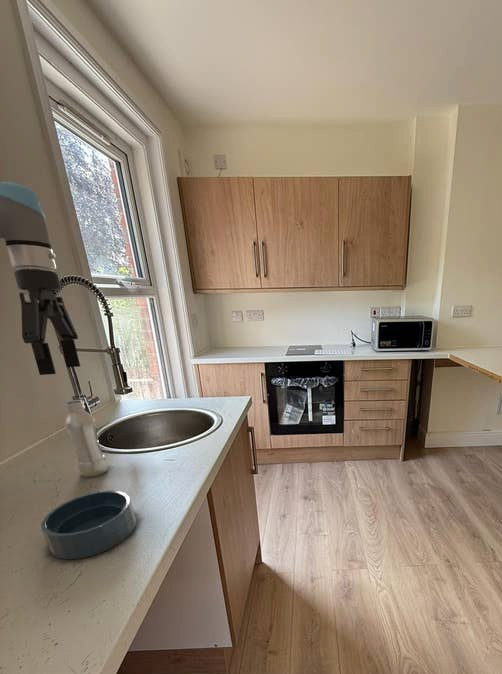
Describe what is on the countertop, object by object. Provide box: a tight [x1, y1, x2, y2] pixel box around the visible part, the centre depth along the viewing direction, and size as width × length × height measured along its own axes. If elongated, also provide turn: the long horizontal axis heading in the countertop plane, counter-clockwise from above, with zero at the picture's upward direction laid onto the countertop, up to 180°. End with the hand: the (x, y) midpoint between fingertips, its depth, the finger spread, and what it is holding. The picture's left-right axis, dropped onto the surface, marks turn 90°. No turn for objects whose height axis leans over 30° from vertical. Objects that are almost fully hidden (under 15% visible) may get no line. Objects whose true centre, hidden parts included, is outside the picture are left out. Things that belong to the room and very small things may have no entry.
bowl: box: [40, 489, 137, 560], centre depth 68 cm, size 14×14×6 cm
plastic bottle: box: [64, 399, 109, 478], centre depth 88 cm, size 6×7×20 cm
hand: (61, 370), depth 81 cm, fingers open, 13 cm apart
